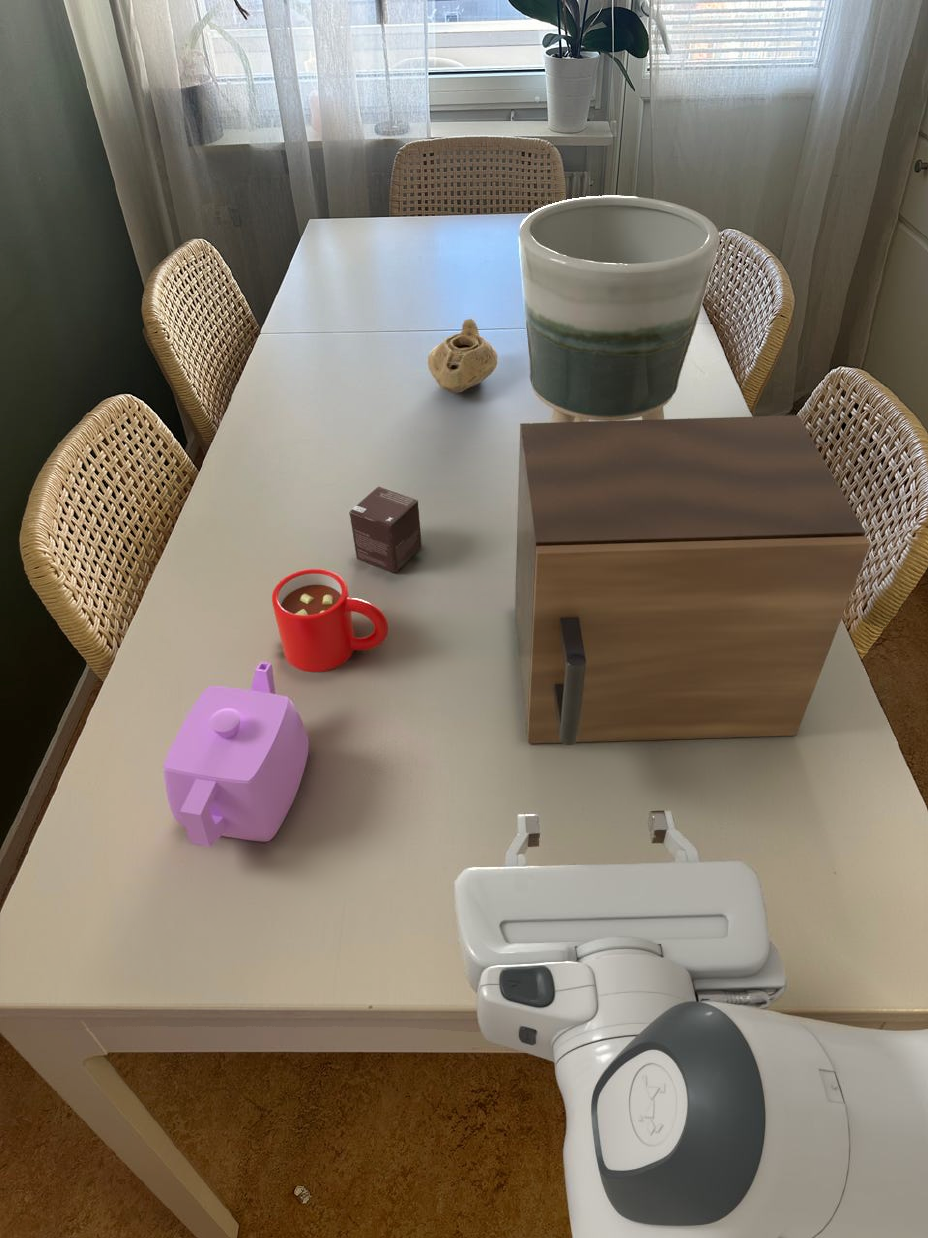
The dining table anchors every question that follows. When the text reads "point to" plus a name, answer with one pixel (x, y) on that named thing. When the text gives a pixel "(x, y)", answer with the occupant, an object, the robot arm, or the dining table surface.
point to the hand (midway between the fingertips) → (593, 816)
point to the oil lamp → (462, 359)
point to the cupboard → (667, 490)
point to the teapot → (236, 762)
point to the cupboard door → (683, 636)
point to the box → (386, 529)
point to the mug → (321, 620)
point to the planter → (612, 302)
